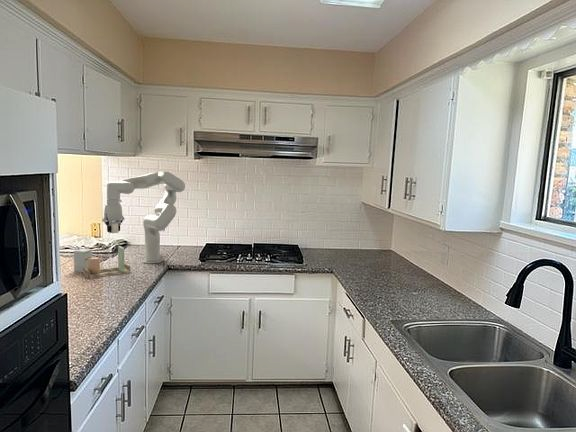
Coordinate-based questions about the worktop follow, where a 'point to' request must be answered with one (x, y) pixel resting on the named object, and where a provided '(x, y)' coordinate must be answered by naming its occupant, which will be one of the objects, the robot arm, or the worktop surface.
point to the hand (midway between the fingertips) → (113, 231)
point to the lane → (87, 272)
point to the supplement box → (81, 259)
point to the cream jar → (114, 227)
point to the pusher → (121, 258)
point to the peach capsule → (94, 265)
